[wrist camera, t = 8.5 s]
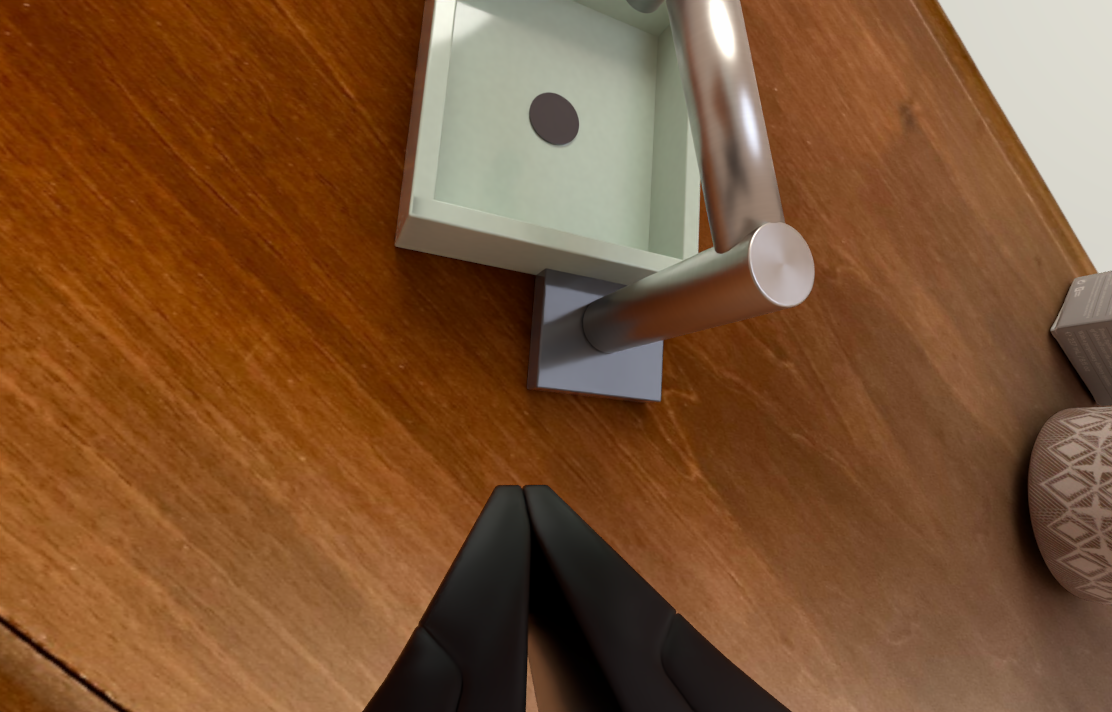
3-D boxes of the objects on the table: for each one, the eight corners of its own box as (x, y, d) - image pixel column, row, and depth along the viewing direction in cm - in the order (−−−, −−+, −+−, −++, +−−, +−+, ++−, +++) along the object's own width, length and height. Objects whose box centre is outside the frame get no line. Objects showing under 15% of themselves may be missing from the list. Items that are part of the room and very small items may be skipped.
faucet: (635, 349, 24) (823, 302, 15) (587, 356, 23) (759, 311, 14) (584, 72, 25) (735, -125, 16) (535, 67, 24) (668, -145, 15)
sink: (646, 403, 26) (694, 399, 22) (378, 372, 21) (390, 362, 18) (662, 38, 29) (706, -10, 26) (432, -60, 24) (451, -134, 21)
